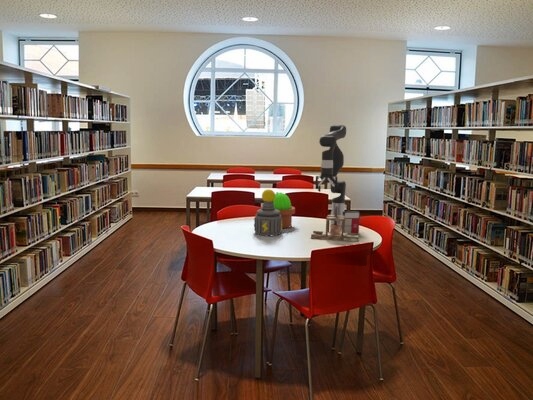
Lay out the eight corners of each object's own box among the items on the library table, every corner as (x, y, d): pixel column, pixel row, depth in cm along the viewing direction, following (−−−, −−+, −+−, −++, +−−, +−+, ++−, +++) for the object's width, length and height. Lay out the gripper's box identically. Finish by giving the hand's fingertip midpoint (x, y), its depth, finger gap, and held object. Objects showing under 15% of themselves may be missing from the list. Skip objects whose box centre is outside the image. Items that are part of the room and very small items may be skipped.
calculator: (343, 234, 326) (344, 212, 323) (341, 232, 330) (342, 211, 328) (359, 233, 328) (360, 212, 326) (356, 232, 332) (357, 211, 330)
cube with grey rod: (322, 235, 311) (323, 206, 308) (323, 232, 319) (324, 204, 317) (347, 237, 307) (348, 207, 305) (347, 234, 316) (349, 205, 313)
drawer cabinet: (311, 238, 311) (311, 217, 309) (313, 234, 323) (313, 214, 321) (358, 241, 305) (358, 219, 303) (358, 237, 316) (359, 216, 314)
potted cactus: (292, 229, 337) (293, 194, 334) (262, 228, 341) (262, 193, 338) (296, 223, 359) (297, 190, 355) (267, 222, 362) (267, 189, 359)
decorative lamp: (279, 237, 314) (280, 191, 309) (251, 235, 317) (251, 190, 313) (284, 231, 332) (284, 188, 328) (257, 229, 336) (258, 187, 331)
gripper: (338, 166, 310) (337, 191, 313) (316, 166, 313) (315, 190, 316) (337, 167, 303) (336, 193, 305) (315, 167, 306) (314, 192, 308)
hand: (326, 192), depth 311 cm, fingers open, 8 cm apart
